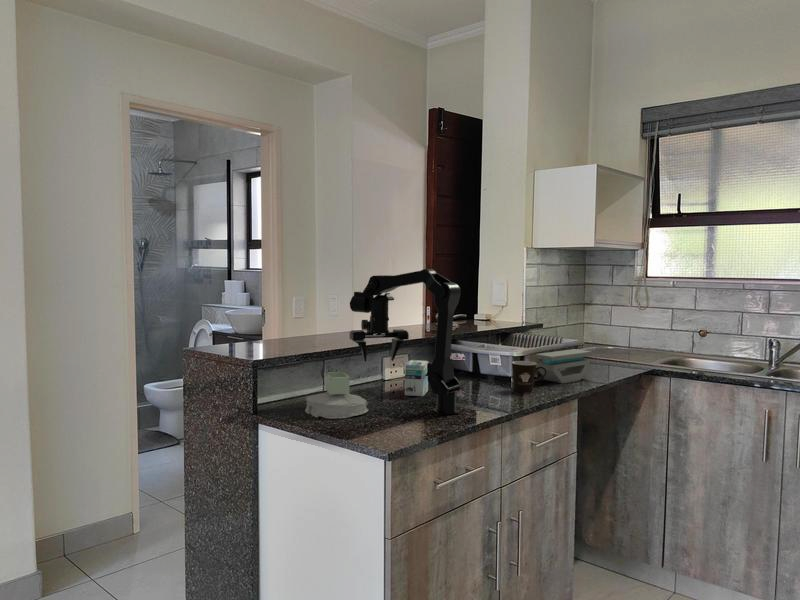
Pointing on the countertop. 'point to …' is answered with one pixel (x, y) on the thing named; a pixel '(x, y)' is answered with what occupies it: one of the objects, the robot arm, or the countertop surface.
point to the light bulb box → (416, 378)
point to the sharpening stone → (564, 365)
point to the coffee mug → (524, 375)
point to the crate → (337, 382)
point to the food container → (335, 405)
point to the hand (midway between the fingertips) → (378, 361)
